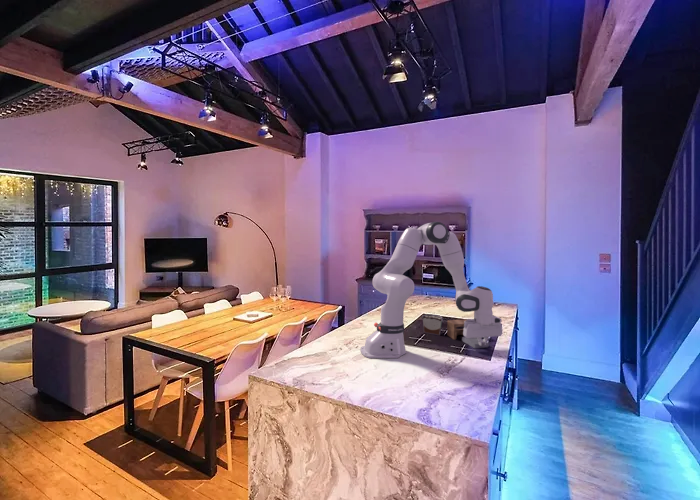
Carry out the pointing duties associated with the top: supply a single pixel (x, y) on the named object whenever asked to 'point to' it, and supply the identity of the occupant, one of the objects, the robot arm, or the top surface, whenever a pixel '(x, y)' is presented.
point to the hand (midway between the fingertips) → (482, 345)
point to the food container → (432, 323)
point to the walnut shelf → (454, 328)
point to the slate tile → (473, 342)
